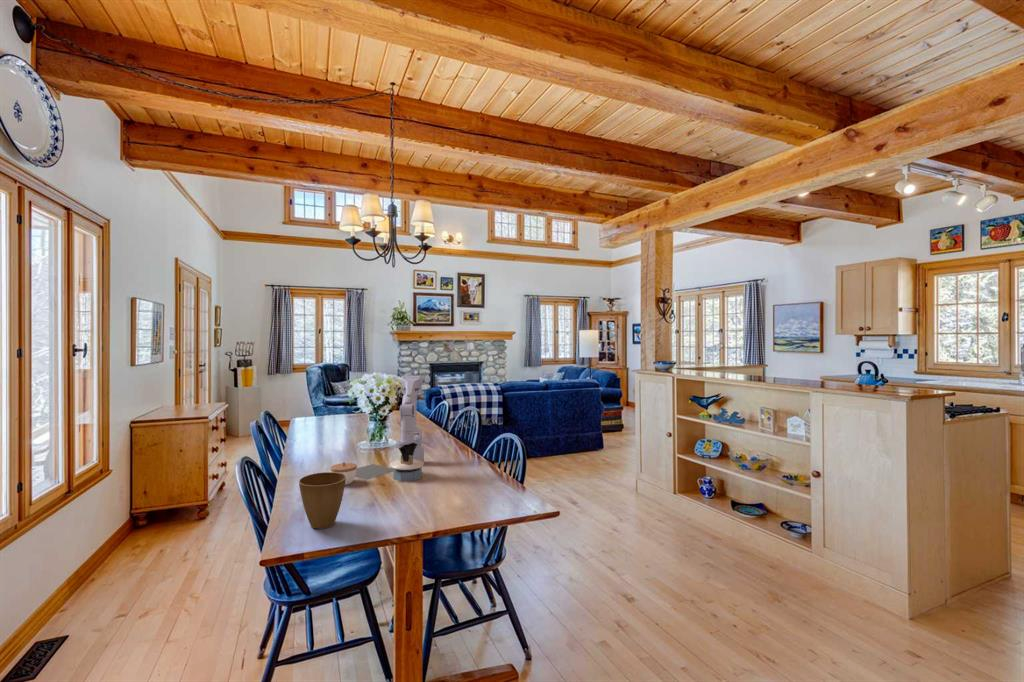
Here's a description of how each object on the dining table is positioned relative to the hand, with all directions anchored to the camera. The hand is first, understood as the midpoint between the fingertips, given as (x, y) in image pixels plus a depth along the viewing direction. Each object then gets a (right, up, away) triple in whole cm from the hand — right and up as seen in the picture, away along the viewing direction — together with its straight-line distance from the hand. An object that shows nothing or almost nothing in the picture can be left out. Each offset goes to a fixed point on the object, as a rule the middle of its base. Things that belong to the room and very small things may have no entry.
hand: (407, 460), depth 217 cm
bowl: (0, -8, 0) cm, 8 cm away
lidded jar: (-26, -8, -9) cm, 28 cm away
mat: (-20, -8, +9) cm, 23 cm away
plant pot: (-17, -9, -53) cm, 57 cm away
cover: (-1, -2, 0) cm, 2 cm away
